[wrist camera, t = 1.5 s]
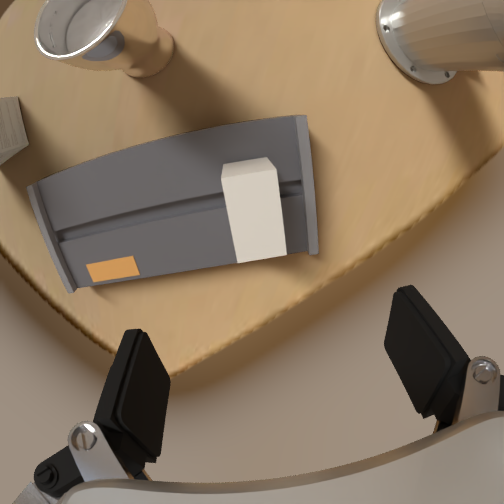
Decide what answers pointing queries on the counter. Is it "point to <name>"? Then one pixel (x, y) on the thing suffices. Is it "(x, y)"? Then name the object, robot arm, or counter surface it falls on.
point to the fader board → (169, 202)
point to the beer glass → (104, 35)
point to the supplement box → (11, 128)
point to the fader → (254, 209)
